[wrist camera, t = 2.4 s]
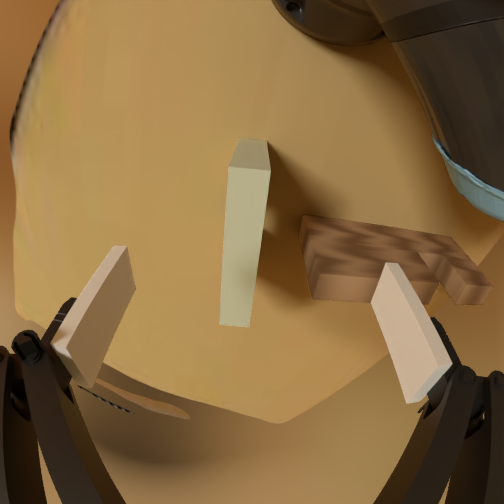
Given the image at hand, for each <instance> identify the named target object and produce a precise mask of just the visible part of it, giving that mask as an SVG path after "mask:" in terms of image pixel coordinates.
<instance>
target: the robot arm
mask: <svg viewBox="0 0 504 504" xmlns="http://www.w3.org/2000/svg"><path fill="white" fill-rule="evenodd" d="M272 2H273V4H274V6H275V7H276V9H277V10H278V11H279V13H280V14H281V15H282V16H283V17H284V18H285V19H286V20H287V21H288V22H289V23H290V24H291V25H293V26H294V27H295V28H297V29H298V30H300V31H301V32H303V33H305V34H307V35H309V36H311V37H313V38H315V39H318V40H320V41H323V42H327V43H331V44H336V45H344V46H356V45H364V44H368V43H371V42H374V41H377V40H380V39H382V38H384V37H386V36H387V38H388V39H389V41H390V44H391V45H392V47H393V49H394V51H395V52H396V54H397V56H398V58H399V59H400V61H401V63H402V65H403V67H404V69H405V71H406V73H407V75H408V76H409V78H410V80H411V82H412V85H413V87H414V89H415V91H416V93H417V95H418V97H419V99H420V102H421V104H422V106H423V109H424V111H425V113H426V116H427V118H428V121H429V124H430V126H431V129H432V130H431V133H432V137H433V140H434V143H435V145H436V147H437V149H438V151H439V152H440V154H441V155H442V157H443V160H444V163H445V165H446V168H447V171H448V174H449V177H450V179H451V181H452V183H453V185H454V186H455V188H456V189H457V191H458V192H459V193H460V194H461V195H463V196H464V197H465V198H466V199H467V200H468V202H469V203H470V204H471V205H472V206H474V207H475V208H477V209H478V210H480V211H481V212H483V213H485V214H486V215H488V216H490V217H492V218H495V219H497V220H500V221H503V222H504V0H272ZM135 290H136V286H135V282H134V278H133V273H132V268H131V263H130V258H129V253H128V248H127V246H117V245H114V246H113V248H112V249H111V250H110V252H109V253H108V254H107V256H106V257H105V258H104V260H103V261H102V263H101V264H100V266H99V267H98V268H97V270H96V271H95V273H94V274H93V276H92V277H91V278H90V280H89V281H88V283H87V284H86V286H85V287H84V289H83V290H82V292H81V293H80V295H79V297H78V298H73V297H71V298H70V299H69V300H68V301H66V302H65V303H64V304H63V305H62V307H61V308H60V310H59V311H58V314H57V315H56V316H55V318H54V321H52V322H51V324H50V326H49V327H48V329H47V331H46V332H45V334H44V336H43V337H42V339H41V340H40V339H39V337H38V335H37V333H35V332H34V331H33V330H25V331H22V332H20V333H19V334H18V335H17V336H16V337H15V338H14V340H13V342H12V346H11V348H12V349H13V351H14V352H15V354H10V353H9V352H8V350H7V348H5V347H4V346H0V504H47V501H46V496H45V491H44V486H43V480H42V474H41V468H40V459H39V451H38V442H39V445H40V448H41V451H42V454H43V457H44V460H45V463H46V466H47V468H48V471H49V474H50V476H51V479H52V481H53V483H54V486H55V488H56V490H57V493H58V495H59V497H60V499H61V502H62V504H126V503H125V501H124V499H123V498H122V496H121V494H120V493H119V491H118V489H117V488H116V486H115V484H114V483H113V481H112V479H111V478H110V475H109V473H108V472H107V470H106V468H105V466H104V464H103V462H102V460H101V458H100V456H99V454H98V452H97V450H96V448H95V446H94V443H93V441H92V439H91V437H90V435H89V432H88V430H87V427H86V425H85V422H84V420H83V417H82V415H81V413H80V410H79V407H78V404H77V402H76V399H75V396H74V393H73V390H72V387H71V386H70V384H69V383H70V380H71V378H73V380H74V381H75V382H76V384H77V385H80V386H83V387H87V388H90V389H92V387H93V384H94V382H95V379H96V377H97V374H98V371H99V369H100V367H101V364H102V362H103V360H104V357H105V355H106V353H107V350H108V348H109V346H110V343H111V341H112V339H113V336H114V334H115V332H116V330H117V328H118V325H119V323H120V321H121V319H122V317H123V315H124V312H125V310H126V308H127V306H128V304H129V302H130V300H131V298H132V296H133V294H134V292H135ZM371 305H372V307H373V310H374V312H375V315H376V317H377V320H378V322H379V325H380V328H381V330H382V333H383V336H384V338H385V341H386V344H387V346H388V349H389V352H390V355H391V358H392V360H393V363H394V366H395V369H396V372H397V375H398V378H399V381H400V385H401V388H402V391H403V394H404V397H405V401H406V403H407V404H408V403H413V402H418V401H421V400H422V399H423V398H424V397H425V395H426V394H427V395H428V398H429V400H428V401H427V402H426V403H425V404H424V405H423V406H422V407H421V408H420V410H419V411H418V413H420V412H421V411H422V410H423V412H422V414H421V416H420V419H419V421H418V423H417V425H416V428H415V430H414V432H413V434H412V436H411V438H410V440H409V443H408V445H407V447H406V449H405V450H404V452H403V454H402V456H401V458H400V460H399V462H398V464H397V466H396V467H395V469H394V471H393V473H392V474H391V476H390V478H389V479H388V481H387V483H386V485H385V486H384V488H383V489H382V491H381V493H380V494H379V496H378V497H377V499H376V500H375V502H374V503H373V504H438V503H439V501H440V499H441V497H442V495H443V493H444V490H445V488H446V486H447V483H448V481H449V479H450V482H449V487H448V492H447V496H446V500H445V504H504V374H503V373H502V372H500V371H493V372H492V373H491V374H490V375H489V376H488V377H481V376H476V373H475V372H474V371H473V370H472V369H471V368H470V367H468V366H462V364H461V362H460V360H459V358H458V356H457V354H456V352H455V350H454V348H453V346H452V344H451V342H450V341H449V338H448V336H447V335H446V332H445V330H444V328H443V327H442V325H441V324H440V323H439V322H438V321H437V320H436V319H435V318H434V317H432V318H430V317H429V315H428V314H427V312H426V310H425V308H424V306H423V305H422V303H421V301H420V299H419V297H418V296H417V294H416V292H415V290H414V289H413V287H412V285H411V284H410V282H409V280H408V279H407V277H406V275H405V274H404V272H403V270H402V269H401V267H400V266H399V264H398V263H387V262H386V263H385V266H384V269H383V271H382V274H381V277H380V280H379V282H378V285H377V287H376V290H375V293H374V295H373V298H372V300H371ZM483 414H484V419H483ZM37 439H38V440H37ZM450 476H451V477H450Z"/></svg>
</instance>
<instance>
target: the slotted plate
mask: <svg viewBox="0 0 504 504" xmlns="http://www.w3.org/2000/svg"><path fill="white" fill-rule="evenodd" d="M270 174H271V168H270V161H269V154H268V147H267V141H264V140H255V139H245V138H239V140H238V143H237V146H236V149H235V151H234V154H233V157H232V160H231V162H230V165H229V172H228V185H227V199H226V213H225V228H224V244H223V262H222V280H221V301H220V325H228V326H238V327H249V324H250V318H251V311H252V304H253V297H254V290H255V283H256V276H257V268H258V261H259V254H260V247H261V240H262V233H263V225H264V218H265V211H266V203H267V196H268V189H269V181H270Z"/></svg>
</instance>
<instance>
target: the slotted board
mask: <svg viewBox="0 0 504 504" xmlns="http://www.w3.org/2000/svg"><path fill="white" fill-rule="evenodd" d="M298 236H299V240H300V245H301V249H302V253H303V258H304V262H305V267H306V271H307V276H308V281H309V285H310V290H311V295H312V299H317V300H332V301H350V302H370V303H371V300H372V298H373V295H374V293H375V290H376V287H377V285H378V282H379V280H380V277H381V274H382V271H383V269H384V266H385V263H386V262H387V263H398V264H399V266H400V267H401V269H402V270H403V272H404V274H405V275H406V277H407V279H408V280H409V282H410V284H411V285H412V287H413V289H414V290H415V292H416V294H417V296H418V297H419V299H420V301H421V303H422V304H428V303H429V301H430V299H431V298H432V296H433V294H434V292H435V290H436V288H437V286H438V284H439V282H438V280H439V281H440V283H441V284H442V286H443V287H444V289H445V290H446V292H447V293H448V295H449V296H450V298H451V299H452V301H453V302H454V304H455V305H482V304H483V303H484V301H485V300H486V298H487V296H488V295H489V293H490V291H491V290H492V288H493V285H492V284H491V283H490V281H489V280H488V279H487V278H486V277H485V275H484V274H483V273H482V272H481V270H480V269H479V268H478V267H477V266H476V265H475V263H474V262H473V261H472V260H471V259H470V258H469V256H468V255H467V254H466V253H465V252H464V251H463V250H462V249H461V248H460V246H459V245H458V244H457V243H456V242H455V241H454V240H453V239H452V238H451V237H447V236H441V235H436V234H430V233H424V232H419V231H413V230H407V229H401V228H394V227H388V226H382V225H375V224H368V223H362V222H355V221H348V220H340V219H333V218H326V217H318V216H310V215H303V216H302V221H301V226H300V231H299V235H298ZM434 275H435V276H436V277H437V278H438V280H437V279H436V278H435V276H434Z"/></svg>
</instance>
